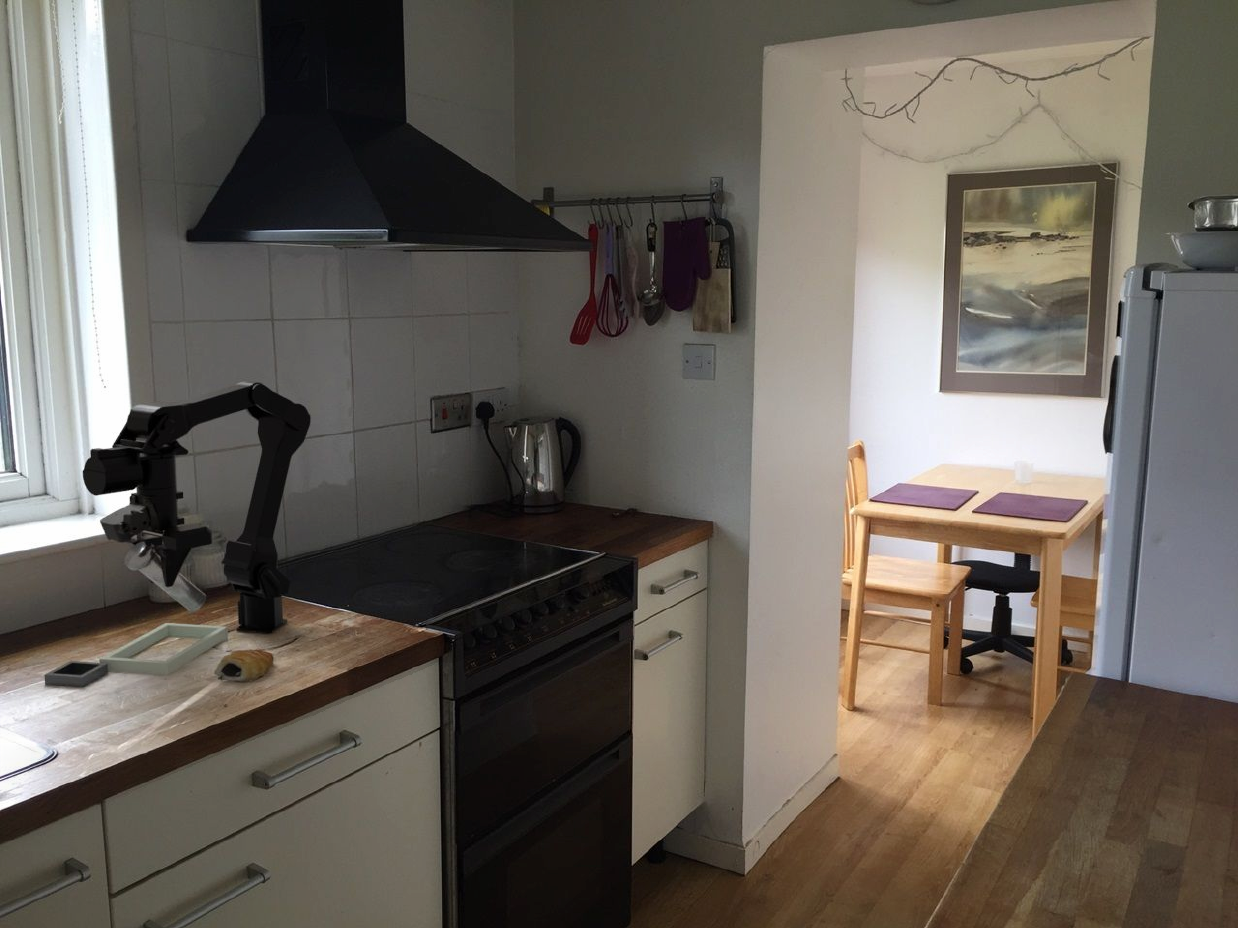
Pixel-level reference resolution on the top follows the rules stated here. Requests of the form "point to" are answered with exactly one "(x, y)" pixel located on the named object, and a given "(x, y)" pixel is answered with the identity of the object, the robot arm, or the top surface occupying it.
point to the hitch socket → (76, 674)
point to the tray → (208, 639)
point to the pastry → (244, 665)
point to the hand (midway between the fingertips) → (161, 584)
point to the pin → (151, 567)
